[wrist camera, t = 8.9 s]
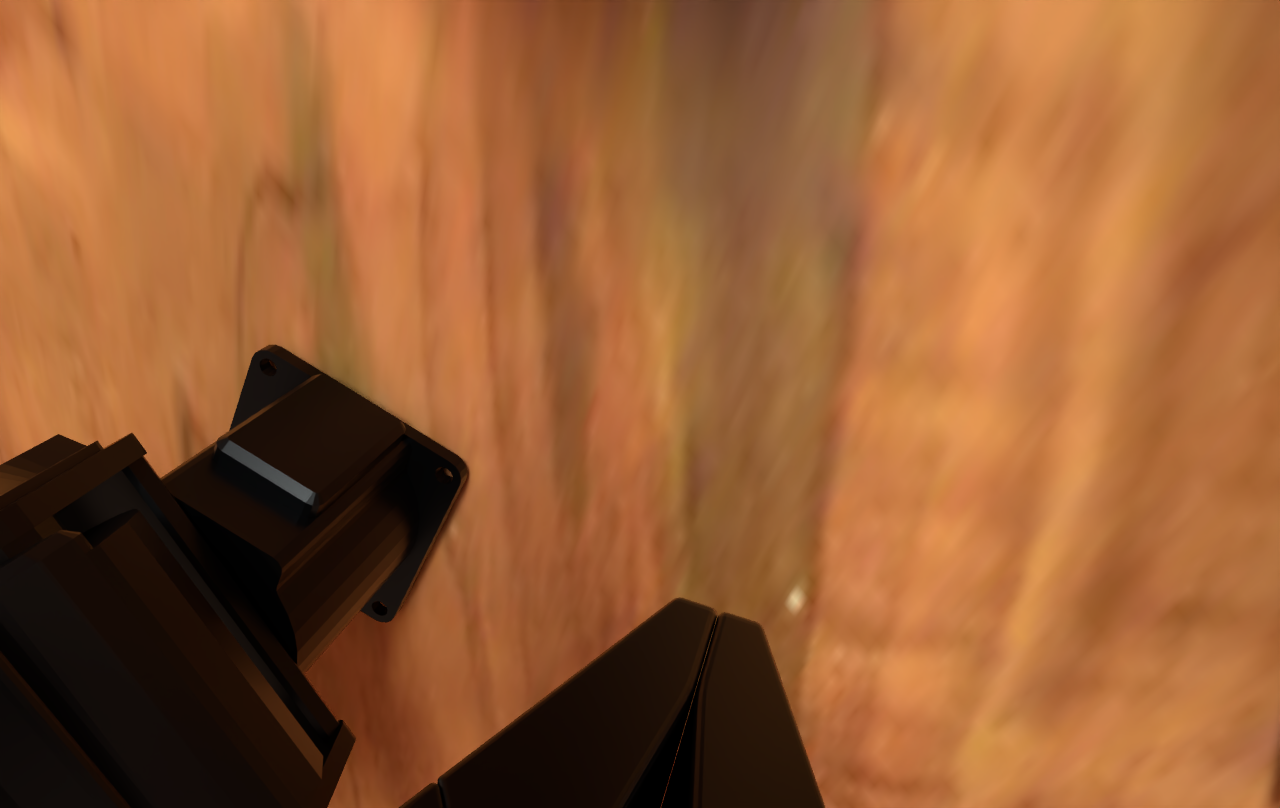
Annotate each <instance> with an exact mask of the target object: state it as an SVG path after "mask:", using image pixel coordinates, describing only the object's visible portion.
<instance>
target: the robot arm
mask: <svg viewBox="0 0 1280 808" xmlns="http://www.w3.org/2000/svg"><path fill="white" fill-rule="evenodd" d="M269 360H271V361H272V362H273V363H274V364H275V366H276V368H277V369H274V368H273V367H272V366H271V364H270V362H269ZM146 453H147V452H146V451H145V449H144V448H143V447H142V445H141V444H140V442H139V441H138V440H137V438H136V437H135V436H134V434H133V433H130V434H129V435H127V436H125V437H123V438H121V439H119V440H118V441H116V442H114V443H112V444H110V445H108V446H107V447H105V448H102V446H101V445H100V444H99V442H98V441H96V442H94V443H92V444H90V445H88V446H86V445H83V444H81V443H78V442H76V441H74V440H71V439H69V438H66V437H64V436H62V435H59V434H58V435H56V436H54V437H52V438H50V439H48V440H47V441H45V442H43V443H41V444H39V445H37V446H35V447H33V448H32V449H30V450H28V451H26V452H24V453H22V454H20V455H18V456H17V457H15V458H13V459H11V460H9V461H7V462H5V463H3V464H1V465H0V808H327V807H328V805H329V802H330V800H331V797H332V795H333V793H334V790H335V788H336V785H337V783H338V781H339V778H340V776H341V774H342V771H343V769H344V766H345V764H346V762H347V759H348V757H349V755H350V752H351V750H352V747H353V745H354V743H355V740H356V738H355V736H354V735H353V733H352V732H351V731H350V729H349V728H348V727H347V725H346V724H345V722H344V721H343V720H339V721H338V720H337V719H336V718H335V716H334V715H333V713H332V712H331V711H330V709H329V708H328V707H327V705H326V704H325V703H324V701H323V700H322V698H321V697H320V696H319V694H318V693H317V692H316V690H315V689H314V688H313V686H312V685H311V683H310V682H309V681H308V679H307V678H306V677H305V675H304V674H305V672H306V671H307V670H308V669H309V668H310V667H311V666H312V665H313V663H314V662H315V661H316V660H317V659H318V658H319V657H320V655H321V654H322V653H323V652H324V651H325V650H326V649H327V648H328V646H329V645H330V644H331V643H332V642H333V641H334V640H335V638H336V637H337V636H338V635H339V634H340V633H341V632H342V630H343V629H344V628H345V627H346V626H347V625H348V624H349V623H350V621H351V620H352V619H353V618H354V617H355V616H356V615H357V613H358V612H359V611H362V612H363V613H365V614H367V615H368V616H370V617H372V618H373V619H375V620H377V621H379V622H389V621H391V620H392V619H393V618H394V617H395V616H396V614H397V613H398V612H399V611H400V610H401V608H402V606H403V604H404V602H405V600H406V598H407V596H408V594H409V592H410V590H411V588H412V586H413V584H414V582H415V580H416V578H417V576H418V574H419V572H420V570H421V568H422V566H423V564H424V562H425V560H426V558H427V556H428V554H429V552H430V550H431V548H432V546H433V544H434V542H435V540H436V538H437V536H438V534H439V532H440V530H441V528H442V526H443V524H444V522H445V520H446V518H447V516H448V514H449V512H450V510H451V508H452V506H453V504H454V502H455V500H456V498H457V496H458V494H459V492H460V490H461V488H462V486H463V484H464V482H465V480H466V478H467V474H468V471H467V466H466V464H465V463H464V461H463V460H462V459H461V458H460V457H459V456H458V455H456V454H454V453H453V452H451V451H450V450H448V449H446V448H445V447H443V446H441V445H440V444H438V443H437V442H435V441H433V440H432V439H430V438H428V437H427V436H425V435H424V434H422V433H420V432H419V431H417V430H415V429H414V428H412V427H411V426H409V425H407V424H406V423H404V422H402V421H401V420H399V419H398V418H396V417H395V416H393V415H391V414H390V413H388V412H386V411H385V410H383V409H382V408H380V407H378V406H377V405H375V404H373V403H372V402H370V401H369V400H367V399H365V398H364V397H362V396H360V395H359V394H357V393H356V392H354V391H352V390H351V389H349V388H347V387H346V386H344V385H343V384H341V383H339V382H338V381H336V380H334V379H333V378H331V377H330V376H328V375H326V374H324V373H323V372H321V371H320V370H318V369H316V368H315V367H313V366H311V365H310V364H308V363H307V362H305V361H303V360H302V359H300V358H298V357H297V356H295V355H294V354H292V353H290V352H289V351H287V350H285V349H284V348H282V347H280V346H277V345H268V346H266V347H265V348H263V349H261V350H259V351H257V352H256V353H255V354H254V356H253V357H252V360H251V363H250V366H249V370H248V373H247V376H246V379H245V382H244V386H243V389H242V392H241V395H240V398H239V402H238V405H237V408H236V411H235V414H234V418H233V421H232V424H231V427H230V430H229V432H227V433H225V434H224V435H222V436H221V437H219V438H218V440H217V441H216V442H214V443H213V444H211V445H210V446H208V447H207V448H205V449H204V450H202V451H201V452H199V453H198V454H196V455H195V456H193V457H192V458H190V459H189V460H187V461H186V462H184V463H183V464H181V465H180V466H178V467H177V468H175V469H174V470H172V471H171V472H169V473H168V474H166V475H165V476H163V477H162V478H159V476H158V475H157V474H156V472H155V471H154V470H153V468H152V467H151V466H150V464H149V463H148V461H147V460H146V459H145V457H144V456H143V455H145V454H146ZM442 467H444V468H447V469H448V470H449V471H450V472H451V474H452V476H453V477H450V476H447V475H446V474H445V473H444V472H443V469H442ZM380 602H382V603H383V604H384V605H385V606H386V607H385V606H383V605H382V604H381V603H380ZM716 618H717V613H716V611H715V610H714V609H713V608H711V607H708V606H705V605H702V604H699V603H696V602H693V601H690V600H687V599H684V598H676V599H674V600H672V601H671V602H669V603H668V604H667V605H665V606H664V607H663V608H661V609H660V610H659V611H658V612H656V613H655V614H654V615H652V616H651V617H650V618H648V619H647V620H646V621H644V622H643V623H642V624H640V625H639V626H638V627H636V628H635V629H634V630H633V631H631V632H630V633H629V634H627V635H626V636H625V637H623V638H622V639H621V640H619V641H618V642H617V643H615V644H614V645H613V646H611V647H610V648H609V649H608V650H606V651H605V652H604V653H602V654H601V655H600V656H598V657H597V658H596V659H594V660H593V661H592V662H590V663H589V664H588V665H587V666H585V667H584V668H583V669H581V670H580V671H579V672H577V673H576V674H575V675H573V676H572V677H571V678H569V679H568V680H567V681H565V682H564V683H563V684H562V685H560V686H559V687H558V688H556V689H555V690H554V691H552V692H551V693H550V694H548V695H547V696H546V697H544V698H543V699H542V700H540V701H539V702H538V703H537V704H535V705H534V706H533V707H531V708H530V709H529V710H527V711H526V712H525V713H523V714H522V715H521V716H519V717H518V718H517V719H515V720H514V721H513V722H512V723H510V724H509V725H508V726H506V727H505V728H504V729H502V730H501V731H500V732H498V733H497V734H496V735H494V736H493V737H492V738H490V739H489V740H488V741H487V742H485V743H484V744H483V745H481V746H480V747H479V748H477V749H476V750H475V751H473V752H472V753H471V754H469V755H468V756H467V757H465V758H464V759H463V760H462V761H460V762H459V763H458V764H456V765H455V766H454V767H452V768H451V769H450V770H448V771H447V772H446V773H444V774H443V775H442V776H440V777H439V779H438V783H437V784H436V783H431V784H429V785H428V786H427V787H425V788H424V789H423V790H421V791H420V792H419V793H417V794H416V795H415V796H414V797H412V798H411V799H410V800H408V801H407V802H406V803H404V804H403V805H402V806H400V807H399V808H825V805H824V802H823V799H822V796H821V794H820V791H819V788H818V785H817V782H816V779H815V776H814V773H813V770H812V768H811V765H810V762H809V759H808V756H807V753H806V750H805V747H804V744H803V742H802V739H801V736H800V733H799V730H798V727H797V724H796V721H795V718H794V716H793V713H792V710H791V707H790V704H789V701H788V698H787V695H786V692H785V690H784V687H783V684H782V681H781V678H780V675H779V672H778V669H777V666H776V664H775V661H774V658H773V655H772V652H771V649H770V646H769V643H768V640H767V638H766V635H765V632H764V629H763V627H762V626H761V625H760V624H759V623H757V622H754V621H751V620H748V619H745V618H742V617H739V616H736V615H733V614H730V613H726V612H724V613H721V614H720V615H719V616H718V618H717V621H716ZM715 622H716V624H715ZM714 625H715V627H714ZM713 629H714V631H713ZM712 632H713V634H712ZM711 635H712V637H711ZM710 639H711V641H710ZM709 642H710V644H709ZM708 646H709V648H708ZM707 649H708V651H707ZM706 652H707V654H706ZM705 656H706V658H705ZM704 659H705V661H704ZM703 662H704V664H703ZM702 666H703V668H702ZM701 669H702V671H701ZM700 673H701V675H700ZM699 676H700V678H699ZM698 679H699V681H698ZM697 683H698V685H697ZM696 686H697V688H696ZM695 690H696V692H695ZM694 693H695V695H694ZM693 696H694V698H693ZM692 700H693V702H692ZM691 703H692V705H691ZM690 706H691V708H690ZM689 710H690V712H689ZM688 713H689V715H688ZM687 717H688V719H687ZM686 720H687V722H686ZM685 723H686V725H685ZM684 727H685V729H684ZM683 730H684V732H683ZM682 733H683V735H682ZM681 737H682V739H681ZM680 740H681V742H680ZM679 744H680V746H679ZM678 747H679V749H678ZM677 750H678V752H677ZM676 754H677V756H676ZM675 757H676V759H675ZM674 760H675V763H674ZM673 764H674V766H673ZM672 767H673V769H672ZM671 771H672V773H671ZM670 774H671V776H670ZM669 777H670V779H669ZM668 781H669V783H668ZM667 784H668V786H667ZM666 787H667V790H666ZM665 791H666V793H665ZM664 794H665V796H664ZM663 798H664V800H663ZM662 801H663V803H662ZM661 804H662V806H661Z"/></svg>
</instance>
